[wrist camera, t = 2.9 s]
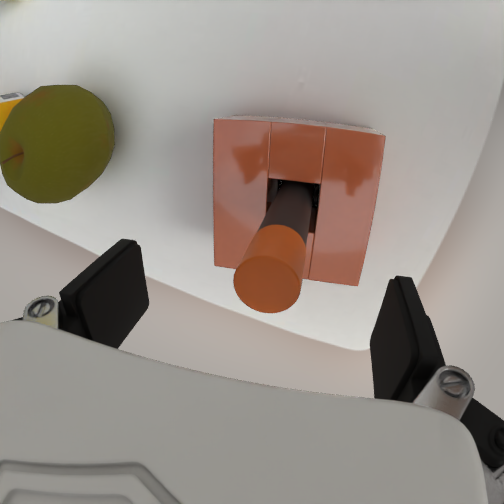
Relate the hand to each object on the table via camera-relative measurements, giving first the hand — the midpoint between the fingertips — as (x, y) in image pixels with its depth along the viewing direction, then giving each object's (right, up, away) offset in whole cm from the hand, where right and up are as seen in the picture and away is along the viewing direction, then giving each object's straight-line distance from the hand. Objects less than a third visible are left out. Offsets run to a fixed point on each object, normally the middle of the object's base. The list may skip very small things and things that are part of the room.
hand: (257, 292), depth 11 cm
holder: (+3, +7, +12) cm, 14 cm away
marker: (+3, +7, +12) cm, 14 cm away
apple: (-15, +13, +14) cm, 24 cm away
